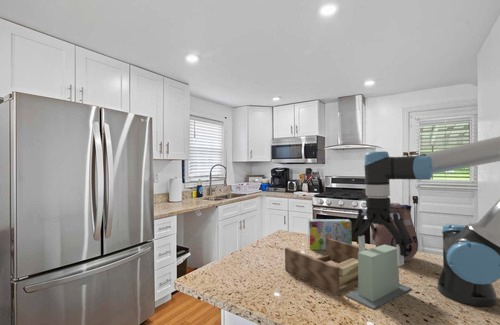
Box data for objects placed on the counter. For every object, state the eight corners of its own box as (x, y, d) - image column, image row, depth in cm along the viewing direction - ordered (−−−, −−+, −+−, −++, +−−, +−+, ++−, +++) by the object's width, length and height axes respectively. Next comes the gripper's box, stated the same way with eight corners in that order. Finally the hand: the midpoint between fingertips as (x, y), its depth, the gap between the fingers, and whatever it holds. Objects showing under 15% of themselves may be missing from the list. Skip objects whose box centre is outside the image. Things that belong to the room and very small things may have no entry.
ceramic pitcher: (426, 266, 111) (425, 207, 112) (373, 264, 115) (372, 207, 115) (408, 253, 129) (407, 202, 129) (362, 251, 132) (362, 201, 132)
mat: (411, 289, 91) (411, 288, 91) (373, 309, 79) (373, 308, 79) (383, 279, 100) (383, 277, 100) (345, 296, 87) (345, 294, 87)
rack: (381, 275, 102) (381, 252, 103) (336, 295, 88) (336, 268, 88) (328, 256, 124) (328, 237, 124) (285, 269, 109) (285, 248, 110)
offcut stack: (365, 276, 102) (365, 261, 102) (339, 287, 93) (338, 270, 93) (354, 272, 106) (354, 257, 106) (328, 282, 97) (327, 266, 98)
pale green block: (399, 288, 91) (398, 247, 92) (372, 301, 83) (371, 257, 83) (385, 282, 96) (384, 244, 96) (358, 294, 87) (357, 252, 87)
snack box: (349, 247, 138) (348, 219, 139) (352, 251, 133) (351, 221, 133) (308, 246, 140) (308, 218, 141) (309, 250, 135) (309, 220, 135)
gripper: (422, 198, 81) (425, 267, 81) (352, 193, 102) (354, 248, 102) (410, 200, 77) (414, 273, 77) (340, 195, 98) (342, 252, 97)
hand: (380, 259), depth 89 cm, fingers open, 13 cm apart
